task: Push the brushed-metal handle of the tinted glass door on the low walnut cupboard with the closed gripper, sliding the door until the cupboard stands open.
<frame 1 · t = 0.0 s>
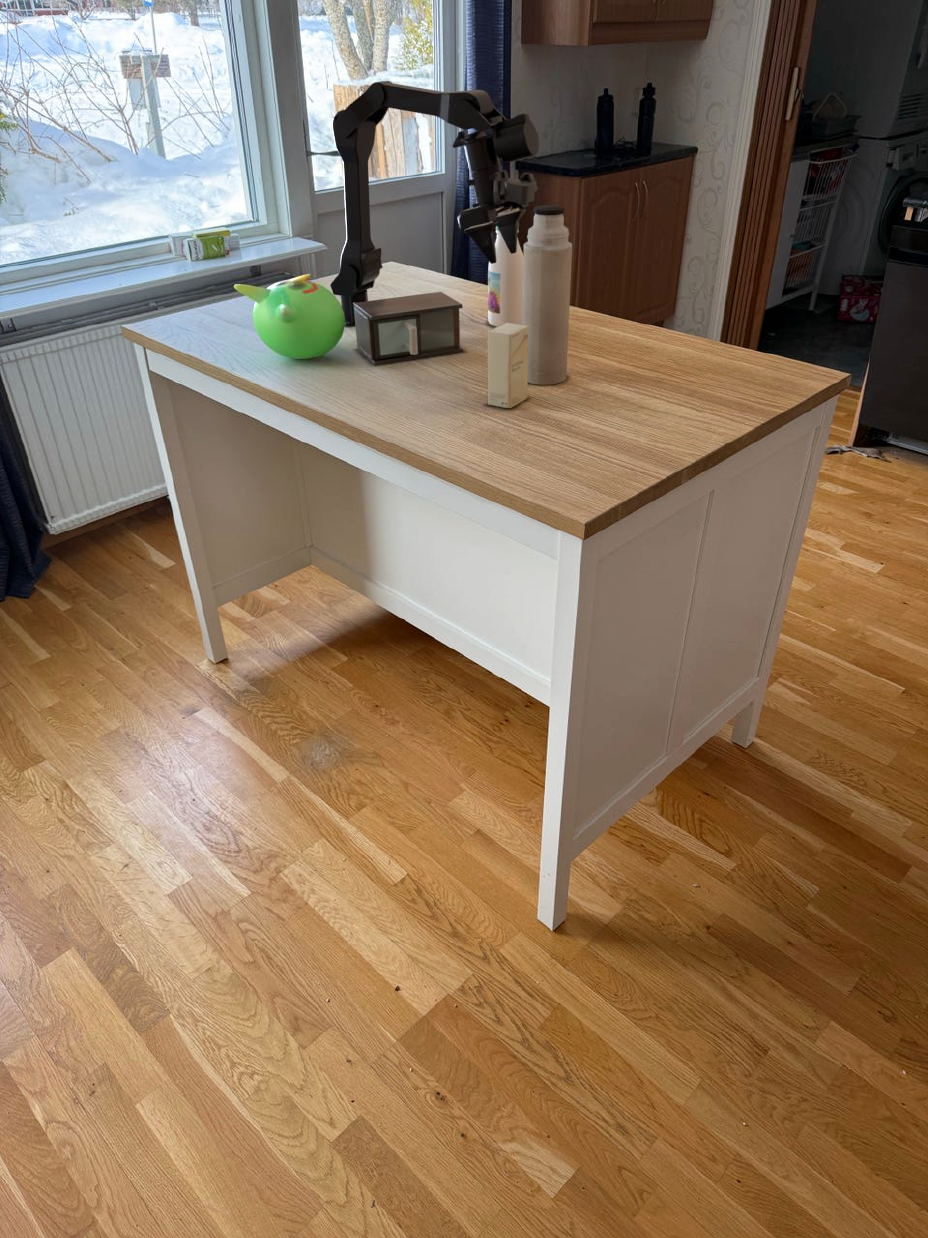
hand: (503, 257, 170), 15 cm above the countertop, tool pointing down, fingers open, 9 cm apart
toy bird: (301, 357, 172), on the countertop
milk bottle: (506, 323, 188), on the countertop
cupboard: (408, 349, 174), on the countertop
glass door: (402, 340, 164), point 4 cm above the countertop, slide at 0.0 cm
thermos bottle: (543, 378, 159), on the countertop
cosmetic box: (507, 402, 150), on the countertop
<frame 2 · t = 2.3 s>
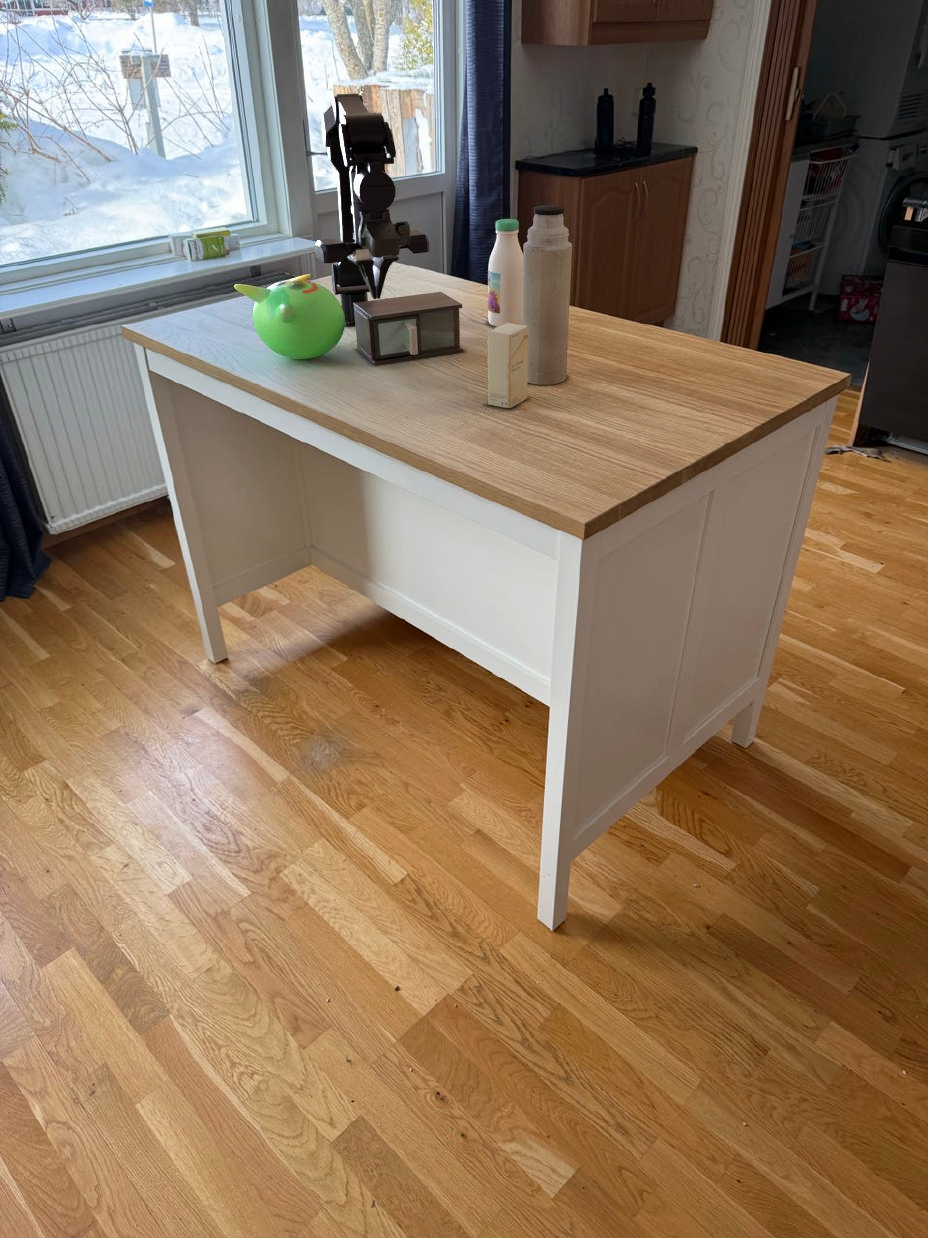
hand: (376, 298, 156), 13 cm above the countertop, tool pointing down, fingers closed
nothing on the countertop moved.
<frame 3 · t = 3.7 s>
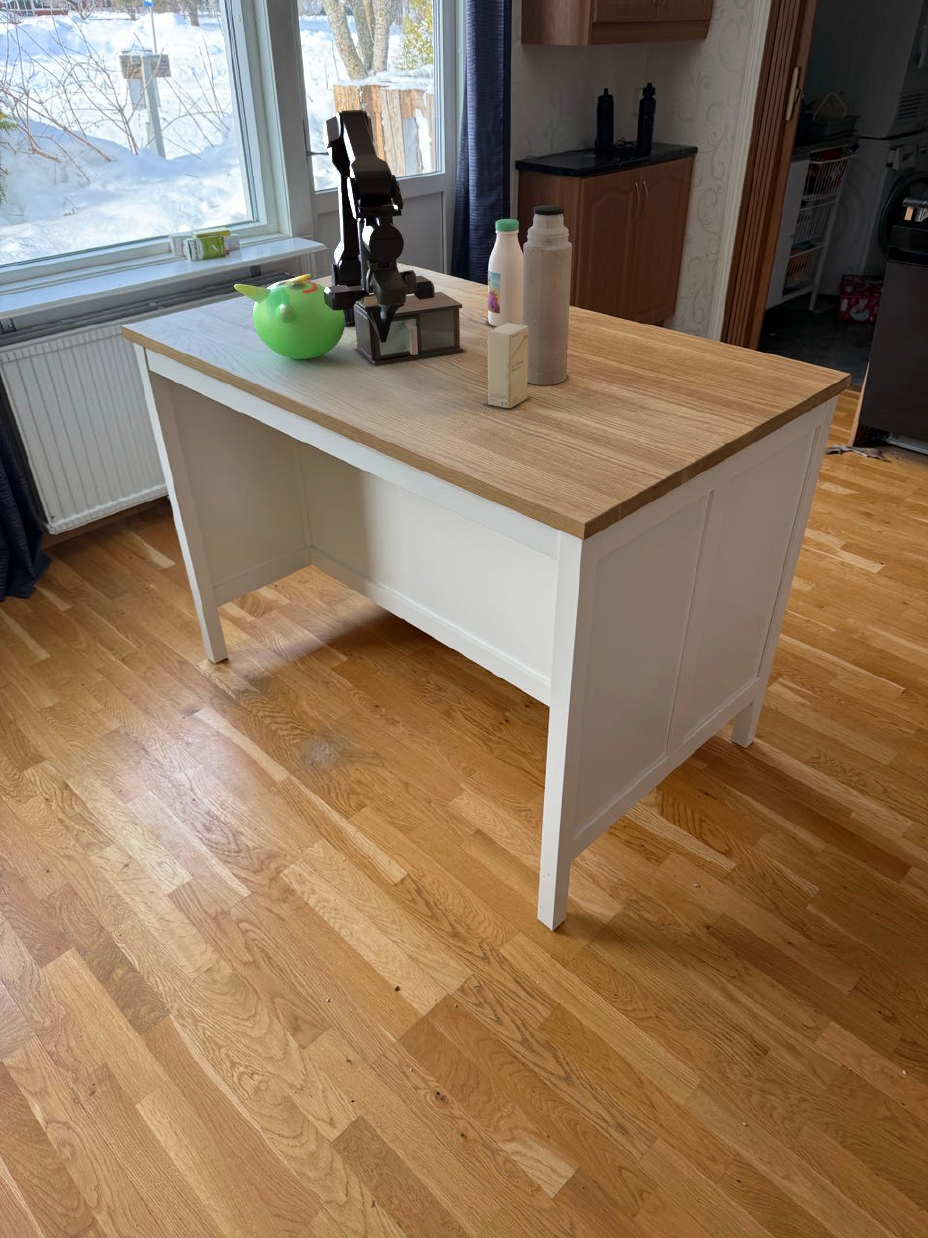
hand: (383, 341, 161), 5 cm above the countertop, tool pointing down, fingers closed
nothing on the countertop moved.
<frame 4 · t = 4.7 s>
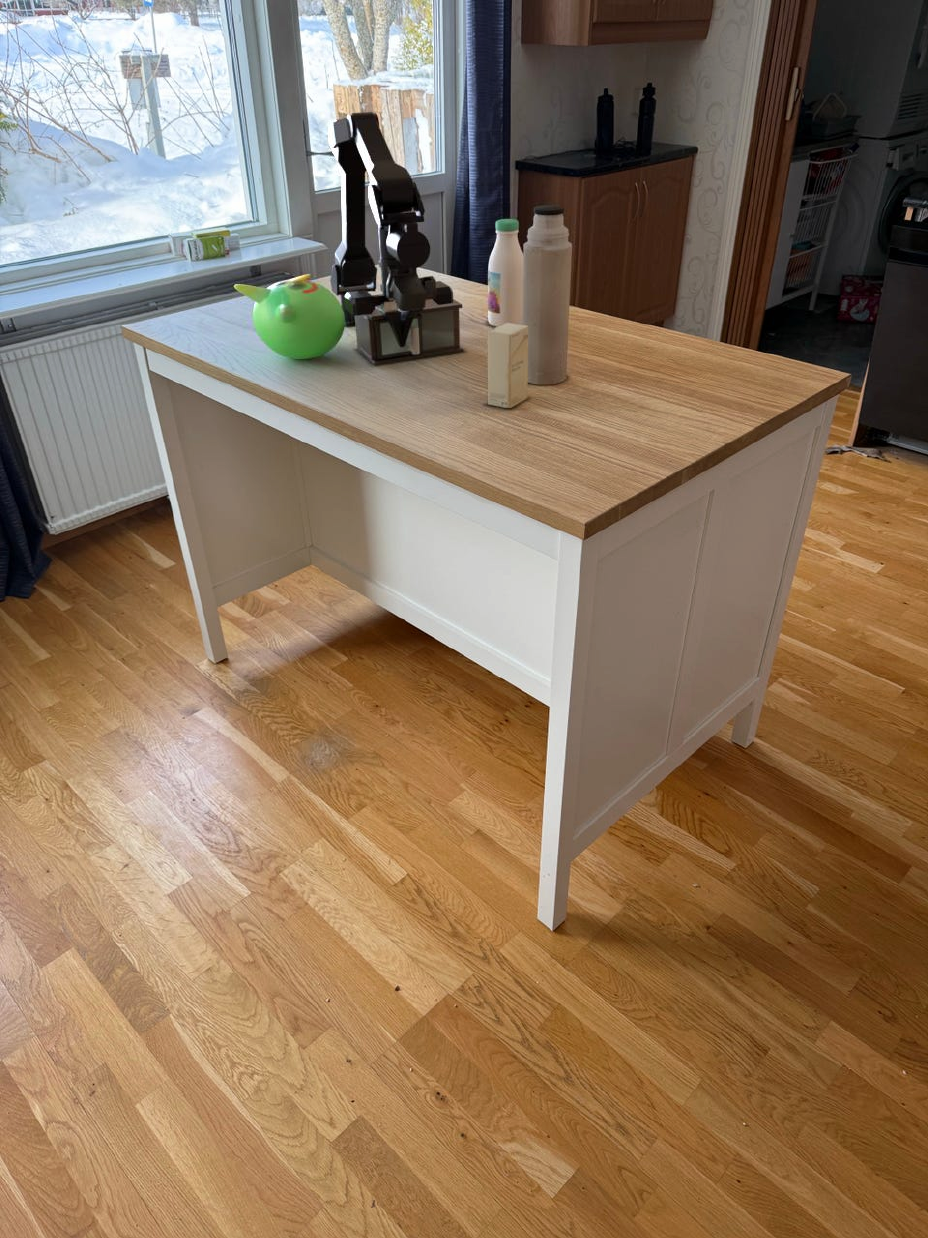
hand: (401, 346, 163), 4 cm above the countertop, tool pointing down, fingers closed
glass door: (404, 339, 165), point 4 cm above the countertop, slide at 0.4 cm, touching gripper
everything else where it was.
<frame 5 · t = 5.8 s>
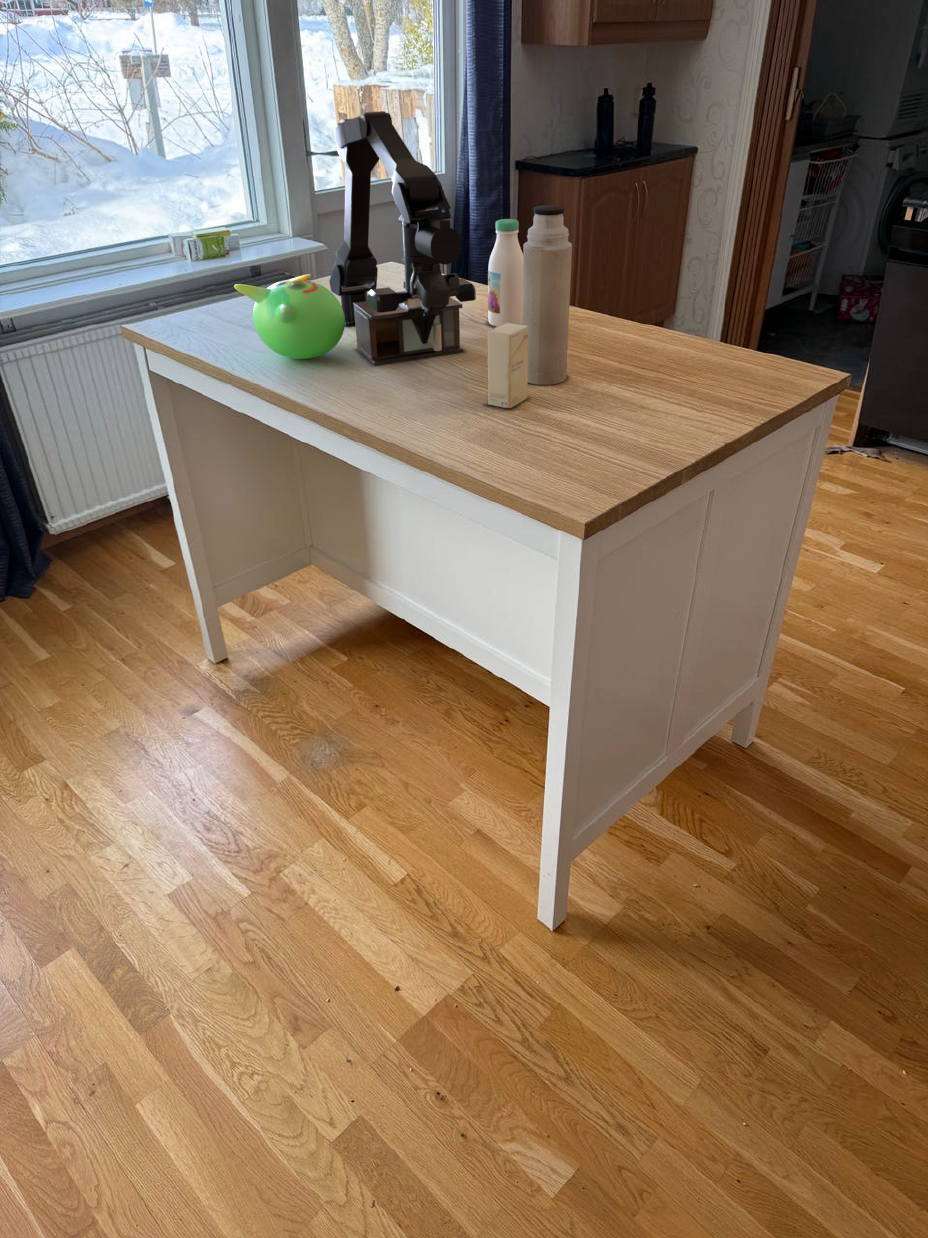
hand: (424, 343, 164), 4 cm above the countertop, tool pointing down, fingers closed
glass door: (426, 336, 166), point 4 cm above the countertop, slide at 4.7 cm, touching gripper
everything else where it was.
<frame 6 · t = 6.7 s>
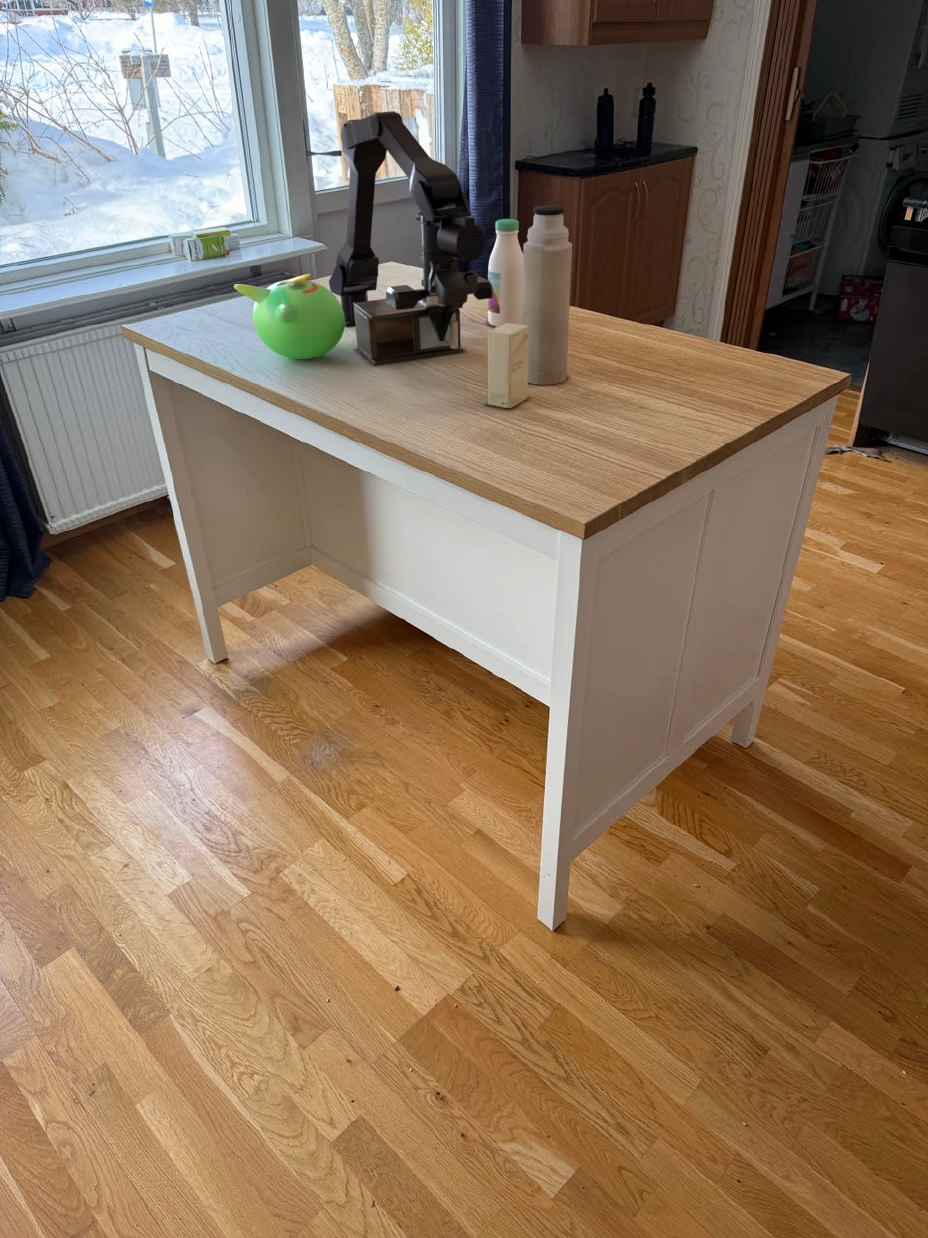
hand: (441, 340, 165), 4 cm above the countertop, tool pointing down, fingers closed
glass door: (442, 334, 167), point 4 cm above the countertop, slide at 8.1 cm, touching gripper
everything else where it was.
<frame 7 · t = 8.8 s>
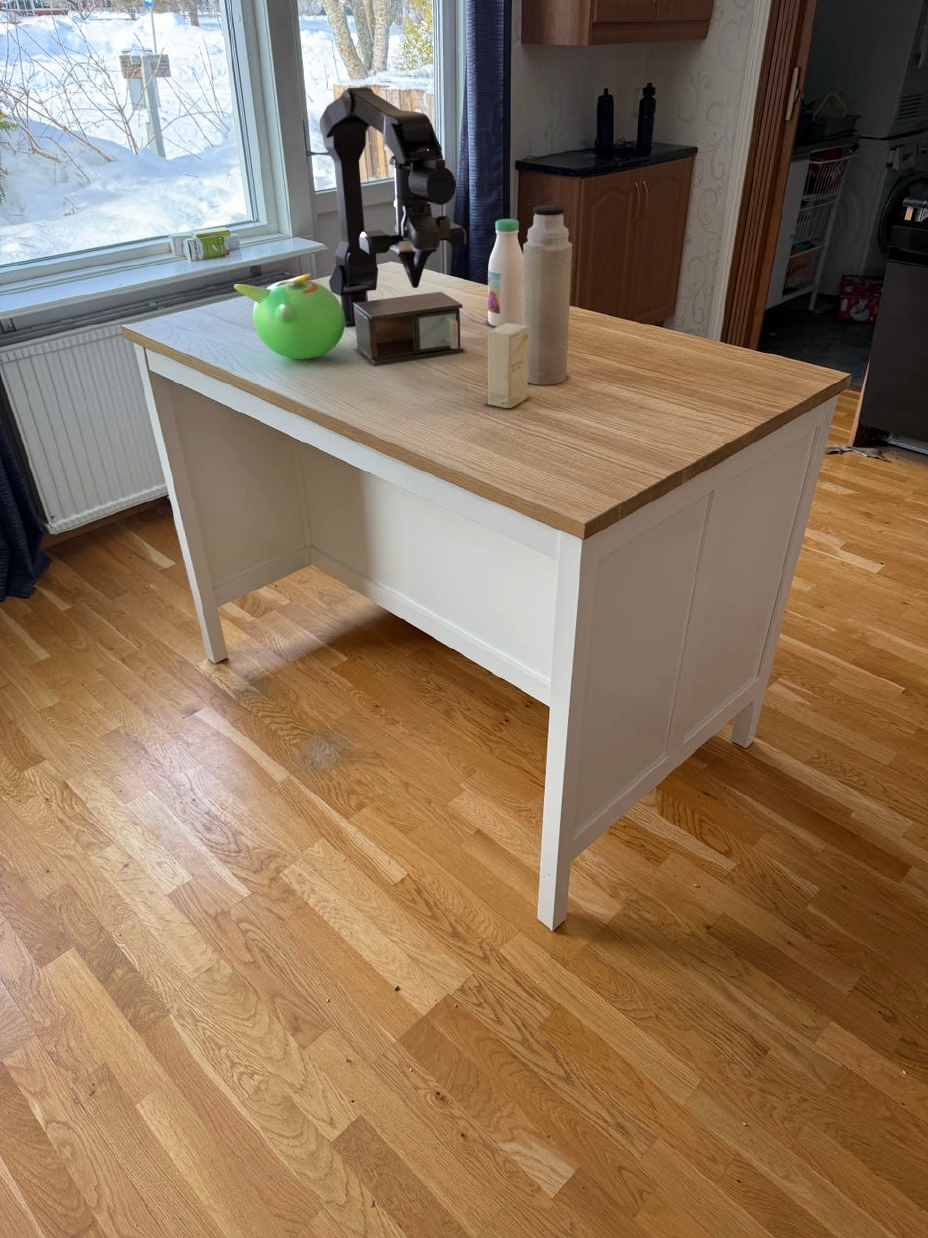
hand: (414, 287, 166), 12 cm above the countertop, tool pointing down, fingers closed
glass door: (442, 334, 167), point 4 cm above the countertop, slide at 8.0 cm
everything else where it was.
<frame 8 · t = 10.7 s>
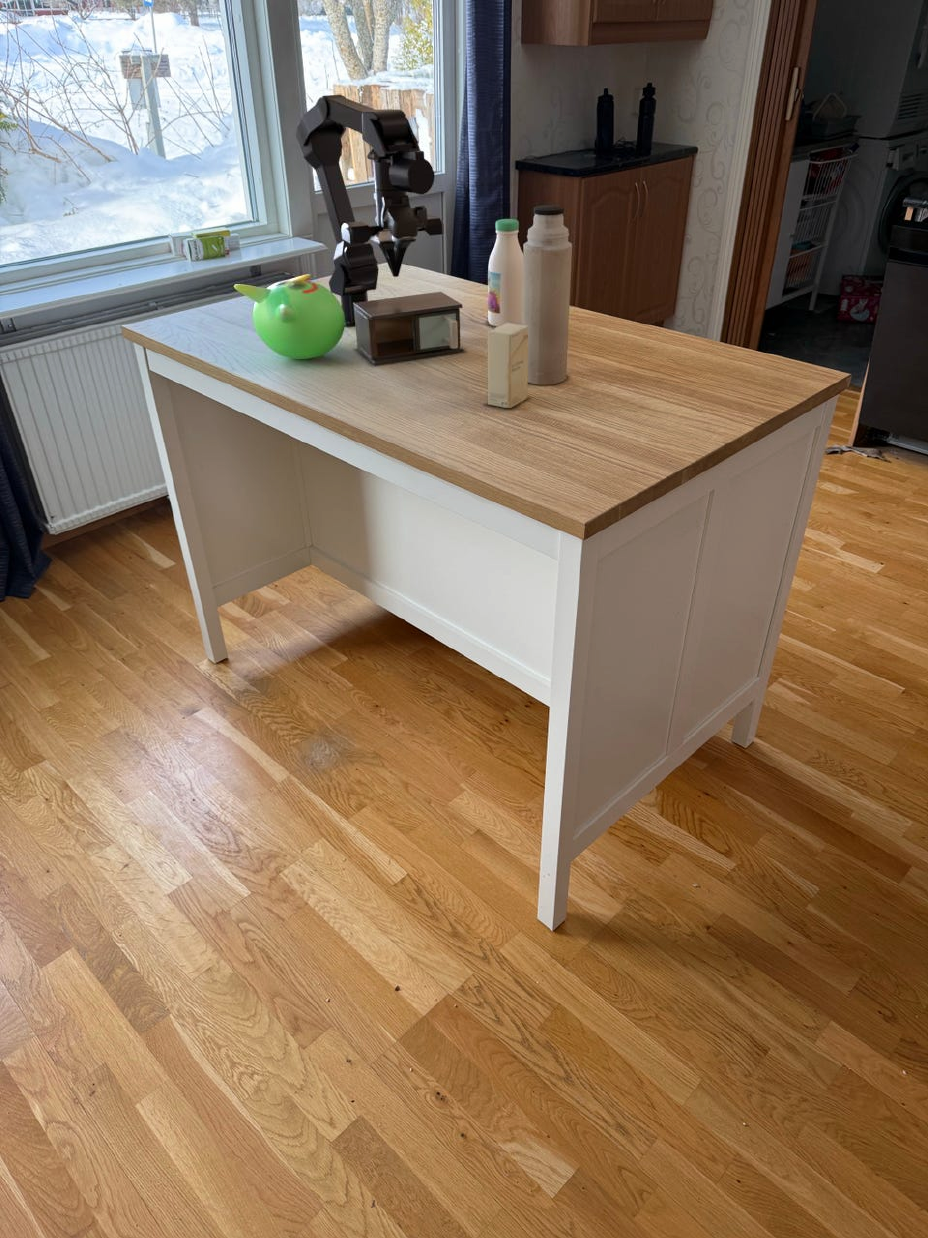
hand: (395, 276, 174), 12 cm above the countertop, tool pointing down, fingers closed
nothing on the countertop moved.
at the end: glass door slide at 8.0 cm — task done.
